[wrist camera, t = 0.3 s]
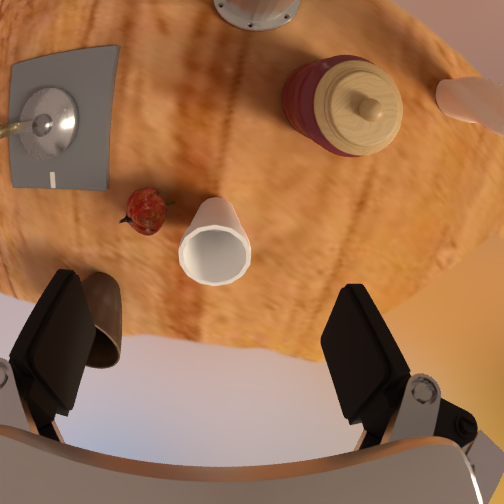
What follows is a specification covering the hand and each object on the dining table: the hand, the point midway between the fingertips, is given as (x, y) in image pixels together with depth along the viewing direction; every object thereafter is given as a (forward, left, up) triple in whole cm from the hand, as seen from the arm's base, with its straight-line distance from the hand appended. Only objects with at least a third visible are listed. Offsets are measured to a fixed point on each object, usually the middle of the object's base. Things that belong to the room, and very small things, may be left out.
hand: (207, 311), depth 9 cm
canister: (-9, +14, -36) cm, 40 cm away
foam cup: (+13, +1, -36) cm, 39 cm away
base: (-2, -29, -36) cm, 46 cm away
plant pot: (+32, -21, -36) cm, 53 cm away
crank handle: (-2, -31, -34) cm, 46 cm away
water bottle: (-20, +39, -36) cm, 57 cm away
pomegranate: (+12, -10, -36) cm, 40 cm away
